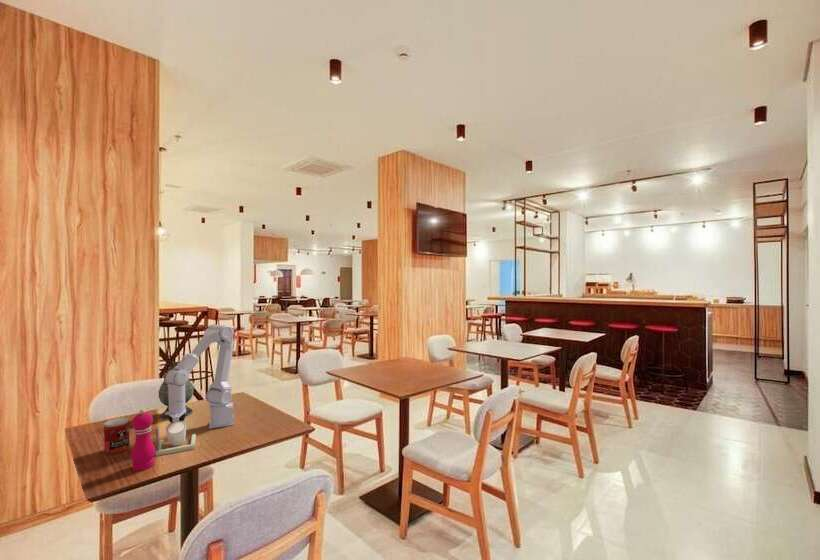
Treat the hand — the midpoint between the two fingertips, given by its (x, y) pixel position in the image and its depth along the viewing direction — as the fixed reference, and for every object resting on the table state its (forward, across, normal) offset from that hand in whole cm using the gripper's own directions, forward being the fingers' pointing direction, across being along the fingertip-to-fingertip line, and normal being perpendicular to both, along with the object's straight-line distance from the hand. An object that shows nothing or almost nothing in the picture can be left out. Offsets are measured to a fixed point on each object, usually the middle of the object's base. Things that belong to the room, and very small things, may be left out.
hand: (177, 434), depth 156 cm
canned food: (+3, -2, -20) cm, 20 cm away
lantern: (+3, -36, -3) cm, 36 cm away
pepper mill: (+3, +18, -9) cm, 20 cm away
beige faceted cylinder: (+2, +2, 0) cm, 3 cm away
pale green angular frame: (+3, +5, -1) cm, 6 cm away
